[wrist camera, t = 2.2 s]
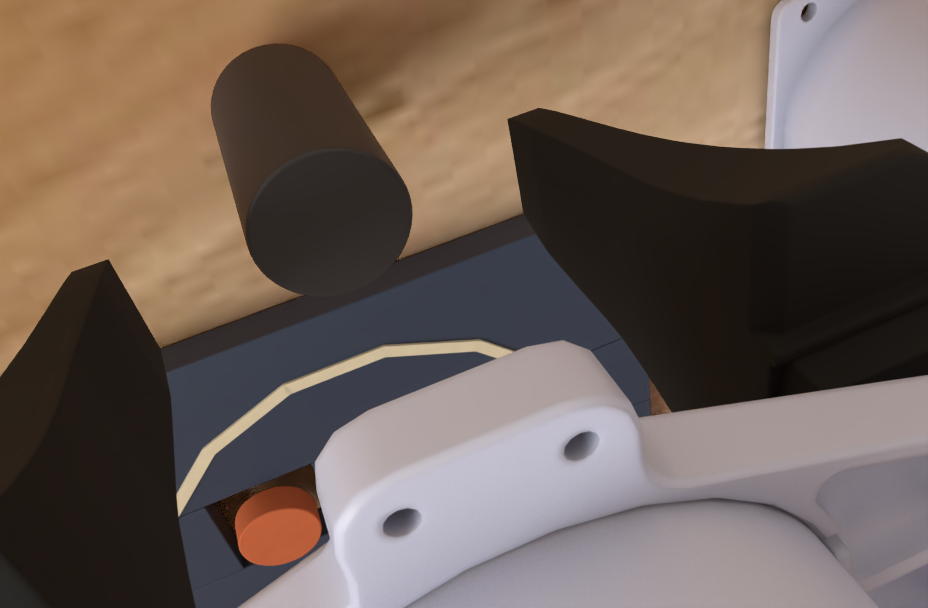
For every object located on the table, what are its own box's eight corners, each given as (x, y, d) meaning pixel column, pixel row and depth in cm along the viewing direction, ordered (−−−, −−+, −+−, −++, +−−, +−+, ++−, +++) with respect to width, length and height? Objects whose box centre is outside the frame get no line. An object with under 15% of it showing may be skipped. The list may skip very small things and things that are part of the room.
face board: (618, 178, 25) (640, 197, 24) (646, 525, 36) (661, 547, 35) (-50, 425, 22) (-57, 459, 21) (207, 720, 33) (211, 752, 32)
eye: (301, 473, 26) (307, 496, 25) (325, 522, 28) (332, 545, 27) (222, 506, 25) (226, 530, 25) (251, 553, 27) (255, 577, 26)
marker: (310, 10, 19) (391, 124, 14) (345, 125, 21) (429, 264, 16) (184, 49, 19) (218, 183, 13) (232, 163, 21) (278, 320, 15)
